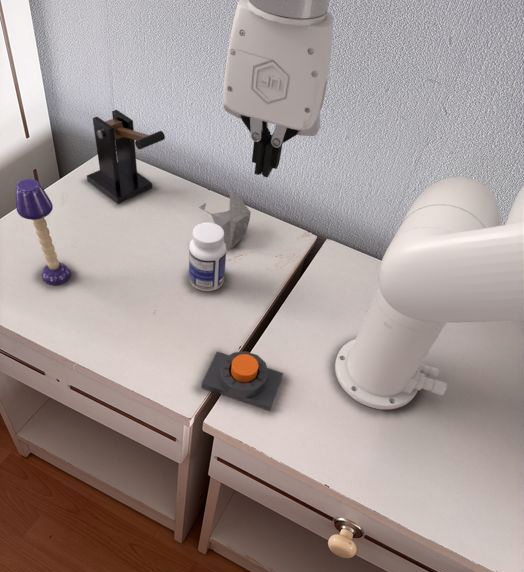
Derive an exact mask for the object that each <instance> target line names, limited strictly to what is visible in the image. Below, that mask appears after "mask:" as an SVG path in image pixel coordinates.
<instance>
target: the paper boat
mask: <svg viewBox="0 0 524 572" xmlns="http://www.w3.org/2000/svg"><path fill="white" fill-rule="evenodd" d="M206 205H207V202H205V203H203V204H201V205H200V206H198V208H199V209H200V210H202V211H203V212H206V213H207V214H210V215H211V218H212V220H213V223H215V224H217V225H219V226H220V227H221V228H222V229H223V231H224V242H225V244H226V250H232V248H234V247H235V246H236V245H237V244H238V243H239V242H240V240H242V238H243V237H244V236H245V235H246V234H247V231H248V227H249V224H250V219H251V213H252V212H251V210H250V209H249V208H248V207H247V205H246V204H245V203H244V202H243V200H242V199H241V198H240V197H239V195H238V194H237V192H236V191H235V190H234V189H233V187H231V186H230V188H229V206H228V207H229V208H228V209H229V210H227V211H221V212H215V213H211V212H209V211H207V210H205V209H206Z"/></svg>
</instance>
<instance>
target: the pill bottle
mask: <svg viewBox="0 0 524 572" xmlns="http://www.w3.org/2000/svg"><path fill="white" fill-rule="evenodd" d="M226 259H227V249H226V244H225V242H224V231H223V229H222V228H221V227H220V226H219V225H217V224H215V223H214V222H209V221H208V222H207V221H206V222H201V223H198V224H197V225H195V226H194V227H193V230H192V239H191V240H190V241H189V244H188V279H189V282H190V284H191V285H192V286H193V287H194V289H196V290H199V291H202V292H212V291H216V290H218V289H220V288H221V287H222V285H223V284H224V282H225V277H226V276H225V274H226Z"/></svg>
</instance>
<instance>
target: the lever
mask: <svg viewBox="0 0 524 572" xmlns="http://www.w3.org/2000/svg"><path fill="white" fill-rule="evenodd" d="M104 121H105V122H106V123H107V124H109V125H110V126H112V127H113V128H114V136H115V140H116V139H119V138H121V137H126V138H130V139H133V140H135V148H137V150H143V149H145V148H147V147H150V146H152V145H155V144H158V143H160V142H162V141H164V140H165V139H166V135H165V133H164V131H163V130H159V131H156V132H154V133H151V134H147V133H144V132H140V131H136V130H134V131H133V130H130V129H126V128H123V124H122V121H118V120H114V119H113V118H112V119H109V120H104Z"/></svg>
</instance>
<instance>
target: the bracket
mask: <svg viewBox="0 0 524 572" xmlns="http://www.w3.org/2000/svg"><path fill="white" fill-rule="evenodd" d="M111 114H112V115H111V116H112V119H114V120H118V121H122V124H123V128H126V129H130V130H133V131H135V130H134V129H135V127H134V120H133V119H131V118H130V117H129V116H127V115H126V114H124V113H122V112H121V111H119V110H118V109H114V110H111ZM105 121H106V120H103V119H101V118H100V117H98V116H95V117H92V125H93V132H94V138H95V139H94V140H95V146H96V152H97V159H98V166H99V170H97V171H94V172H91V173H89V174H87V175H86V180H87V182H88V183H90V185H92V186H93V187H95V188H96V189H97V190H98V191H100V192H101V193H102V194H104V195H105V196H106V197H108V198H109V199H110V200H112V201H113V202H114V203H116V204H117V205H120V204H122V203H124V202H127V201H128V200H130V199H132V198H135V197H137V196H139V195H141V194H143V193H145V192H148V191H149V190H152V189H153V182H152V181H150V180H149V179H148V178H146V177H145V176H144V175H142V174H141V173H139V172H138V168H137V155H136V145H135V141H136V140H133V139H130V138H126V137H121V138H119V139H116V140H115V136H114V128H113V127H112V126H110V125H109V124H107V123H106V122H105Z"/></svg>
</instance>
